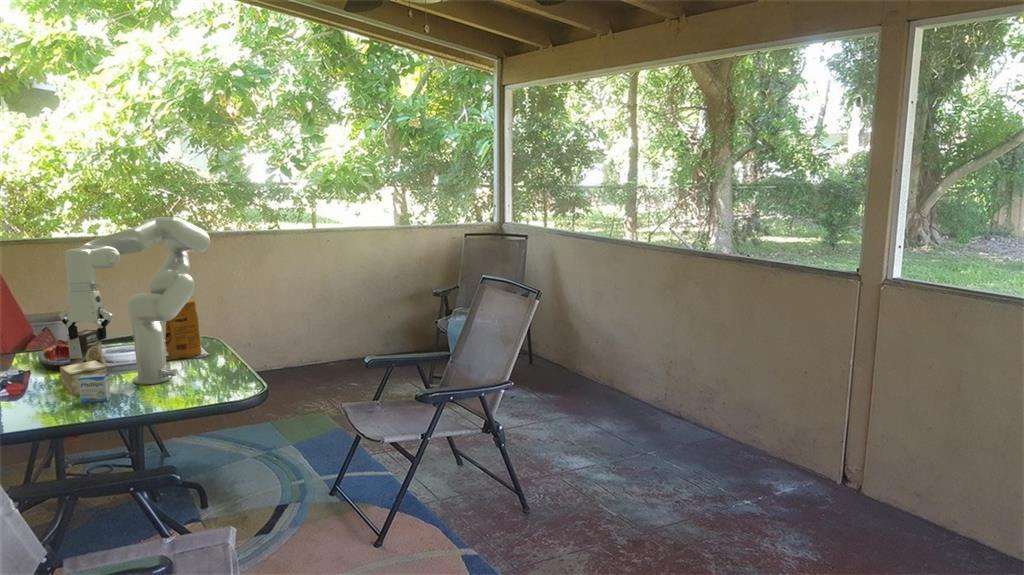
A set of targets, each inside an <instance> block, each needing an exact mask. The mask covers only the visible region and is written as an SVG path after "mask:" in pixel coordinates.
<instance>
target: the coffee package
mask: <svg viewBox="0 0 1024 575" xmlns="http://www.w3.org/2000/svg"><path fill="white" fill-rule="evenodd" d="M200 335H201V334H200V324H199V318H198V313H197V304H196V301H195V300H194V299H193V300H190V301H189V300H188V301H187V303H186V304H185V305H184V307H183V308H182V309H181V311H180V312H179V313H178V314H177V316H176V317H175V318H173V319H172V320H170V321H167V322H165V337H164V341H165V352H166V353H167V354H168V357H169V359H171V360H176V359H180V358H191V357H195V356H199V355H202V344H201V336H200Z"/></svg>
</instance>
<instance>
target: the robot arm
mask: <svg viewBox="0 0 1024 575" xmlns="http://www.w3.org/2000/svg"><path fill="white" fill-rule="evenodd" d="M161 242H165V243H166V248H167V258H166V259H165V260H166V261H165V262H164V263H163V264H162V265H161V266H160V268H159V270H157V272H156V273H155V274H154V276H153V277H152V278H151V279H150V281H149V284H148V290H149V292H150V293H149V292H141V293H140V292H139V293H137V294H134V295H132V296H131V297H130V298H129V299H128V302H127V305H126V307H127V308H126V309H127V313H128V317H129V320H130V324H131V328H132V334H133V343H134V351H135V352H134V353H135V361H136V373H137V375H136V376H135V377H133V379H132V381H133V384H135V385H148V386H149V385H155V384H161V383H165V382H168V381H169V380H171V379H173V377H176V376H177V374H178V370H177V369H174V368H173V369H171V366H170V365H167V357H166V344H165V337H164V329H163V327H162V326H163V325H162V323H166V322H167V321H170V320H172V319H173V318H175V317H176V316H177V314H178V313H179V312H180V311H181V309H182V308H183V307H184V305H185V304H186V303H187V302H189V300H190V298H192V295H193V293H194V290H195V285H196V284H195V281H194V279H193V277H192V276H191V275H190V274H188V273H189V271H190V269H191V263H190V258H189V254H188V253H204V252H205V251H207V249H209V248H210V245H211V239H210V235H209V234H208V232H207V231H205V230H204V229H202V228H201V227H199V226H196V225H194V224H192V223H190V222H189V221H187V220H184V219H182V218H180V217H174V216H173V217H170V216H157V217H154V218H150V219H149V220H146V221H144V222H142V223H140V224H137V225H135V226H133V227H130V228H129V229H126V230H122V231H121V230H120V231H118V232H114V233H112V234H111V233H110V234H107V235H105V236H101V237H98V238H94V239H93V240H90V241H88V242H86V243H84V244H82V245H81V246H79V247H78V248H71V249H70V248H69V249H67V250H66V251H65V252H64V253H65V254H64V258H65V259H64V260H65V266H66V267H65V268H66V277H67V286H68V292H67V294H66V309H64V310H63V311H61V312H60V313H59V314H58V316H59V318H60V320H61V322H62V323H63V325H65V327H66V328H67V331H68V335H69V339H70V340H73V339H76V338H78V332H79V331H78V326H77V325H76V324H77V323H94V324H95V325H96V326H97V329H96V330H97V334H98V340H101V341H102V340H105V339H107V327H108V324H110V322H111V319H112V317H113V314H112V312H109V311H107V310H105V307H104V301H103V299H102V294H101V292H100V290H99V289H98V288H100V285H99V283H97V281H96V273H95V272H96V271H95V270H100V269H101V270H105V269H107V270H109V269H113V268H114V267H116V266H117V265H118V264H119V263H120V262H121V256H122V255H123V256H124V255H133V254H138V253H141V252H143V251H146V250H147V249H149V248H151V247H154V246H155V245H158V244H159V243H161ZM97 289H98V290H97Z"/></svg>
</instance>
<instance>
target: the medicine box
mask: <svg viewBox="0 0 1024 575" xmlns="http://www.w3.org/2000/svg"><path fill="white" fill-rule="evenodd" d="M78 381H79V390H80V395H79V397H80V403H81V404H84V405H85V404H93V403H104V402H108V401H109V400H110V399H111V397H112V394H111V388H110V384H111V383H110V375H109V372H107V373H104V374H90V375H82V376H80V377H79V378H78Z"/></svg>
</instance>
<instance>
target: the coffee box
mask: <svg viewBox="0 0 1024 575" xmlns="http://www.w3.org/2000/svg"><path fill="white" fill-rule="evenodd" d="M66 338H67V345H68V347H69V356H70V365H74V364H79V363H84V362H89V361H97V362H99V363H101V364H103V365H105V364H104V357H103V348H102V340H98V334H97V329H83V330H81V331H78V338H76V339H73V340H70V339H69V334H67V335H66Z"/></svg>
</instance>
